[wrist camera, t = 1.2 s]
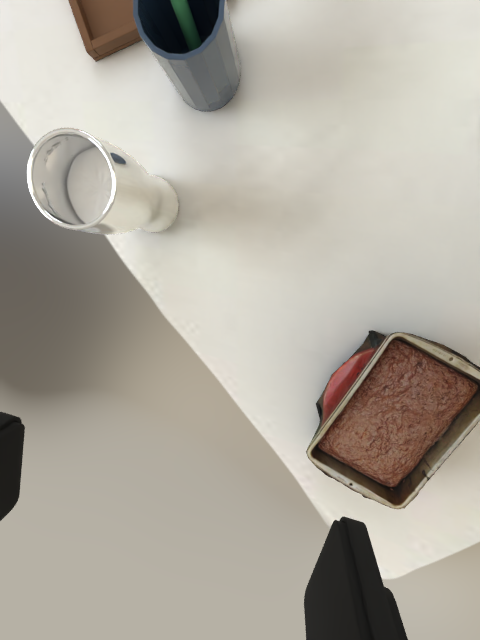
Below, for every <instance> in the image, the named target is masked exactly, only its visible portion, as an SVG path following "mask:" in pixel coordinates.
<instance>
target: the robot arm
mask: <svg viewBox="0 0 480 640" xmlns="http://www.w3.org/2000/svg"><path fill="white" fill-rule="evenodd" d="M24 429H25V427H24V425H23V424H22V423H21V419H20V418H19V417H16V416H13V415H10V414H6V413H3V412H0V521H1V520H2V519H3V518H4V517H5V516H6V515H7V514H8V513H9V512H10V511H11V510H12V508H13V507H14V506H15V504H16V503H17V501H18V498H19V492H20V478H21V467H22V455H23V442H24ZM304 608H305V625H306V640H408V639H407V636H406V633H405V629H404V626H403V623H402V620H401V617H400V613H399V610H398V607H397V604H396V601H395V599H394V596H393V594H392V592H391V591H390V590H389V589H388V588H386V587H384V586H383V582H382V579H381V575H380V572H379V569H378V565H377V562H376V558H375V555H374V552H373V548H372V545H371V541H370V538H369V535H368V531H367V528H366V526H365V524H364V523H363V522H360V521H356V520H353V519H350V518H347V517H342V518H341V519H340V521H337V520H335V521H334V522H333V524H332V526H331V529H330V531H329V534H328V536H327V539H326V541H325V544H324V547H323V549H322V551H321V553H320V556H319V558H318V561H317V563H316V565H315V568H314V570H313V573H312V575H311V578H310V580H309V583H308V585H307V588H306V591H305V599H304Z"/></svg>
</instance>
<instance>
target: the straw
mask: <svg viewBox="0 0 480 640" xmlns="http://www.w3.org/2000/svg"><path fill="white" fill-rule="evenodd" d="M170 1H171V4H172V6H173V9H174V11H175V14H176V17H177V19H178V22H179V24H180V27H181V30H182V32H183V35H184V37H185V40H186V43H187V45H188V48H189V51H192V50H194V49H197V48H199V47H200V46H201V45H202V42H201V40H200V37H199V34H198V31H197V28H196V25H195V22H194V19H193V16H192V13H191V10H190V7H189V4H188V1H187V0H170Z"/></svg>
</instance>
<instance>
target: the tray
mask: <svg viewBox="0 0 480 640" xmlns="http://www.w3.org/2000/svg"><path fill="white" fill-rule="evenodd" d="M69 3H70V6H71V9H72V12H73V15H74V17H75V20H76V23H77V26H78V29H79V31H80V34H81V37H82V40H83V43H84V46H85V48H86V51H87V53H88V54H89V55H90V56H91V57H92V58H93V59H94V60H95V61H98V60H100V59H102V58H104V57H106V56H108V55H111V54H113V53H115V52H117V51H119V50H121V49H123V48H126V47H128V46H130V45H132V44H134V43H136V42H138V41H141V40H142V38H141V37H140V35H139V32H138V29H137V26H136V23H135V20H134V17H133V0H69Z"/></svg>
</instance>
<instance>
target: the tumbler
mask: <svg viewBox="0 0 480 640" xmlns="http://www.w3.org/2000/svg"><path fill="white" fill-rule="evenodd" d="M187 1H188V4H189V7H190V10H191V13H192V16H193V19H194V22H195V25H196V28H197V31H198V34H199V37H200V40H201V42H202V45H201V46H200V47H199V48H197V49H194V50H192V51H189V48H188V45H187V43H186V40H185V37H184V35H183V32H182V30H181V27H180V24H179V22H178V19H177V17H176V14H175V11H174V9H173V6H172V4H171V1H170V0H133V17H134V20H135V23H136V26H137V29H138V32H139V35H140V37H141V38H142V40H143V41H144V43H145V44H146V46H147V47H148V49H149V50H150V52H151V53H152V55H153V56H154V58H155V59H156V61H157V62H158V64H159V65H160V66H161V68H162V69H163V71H164V72H165V74H166V75H167V77H168V78H169V80H170V81H171V83H172V84H173V86H174V87H175V89H176V90H177V92H178V93H179V94H180V96H181V97H182V98H183V100H184V101H185V102H186V103H187V104H188V105H189V106H191V107H193V108H194V109H197V110H200V111H214V110H217V109H220V108H222V107H223V106H225V105H226V104H227V103H228V102H229V101H230V100H231V99H232V98H233V96H234V95H235V93H236V91H237V88H238V86H239V82H240V76H241V69H240V60H239V56H238V51H237V47H236V42H235V37H234V33H233V28H232V24H231V19H230V14H229V10H228V5H227V1H226V0H187Z"/></svg>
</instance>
